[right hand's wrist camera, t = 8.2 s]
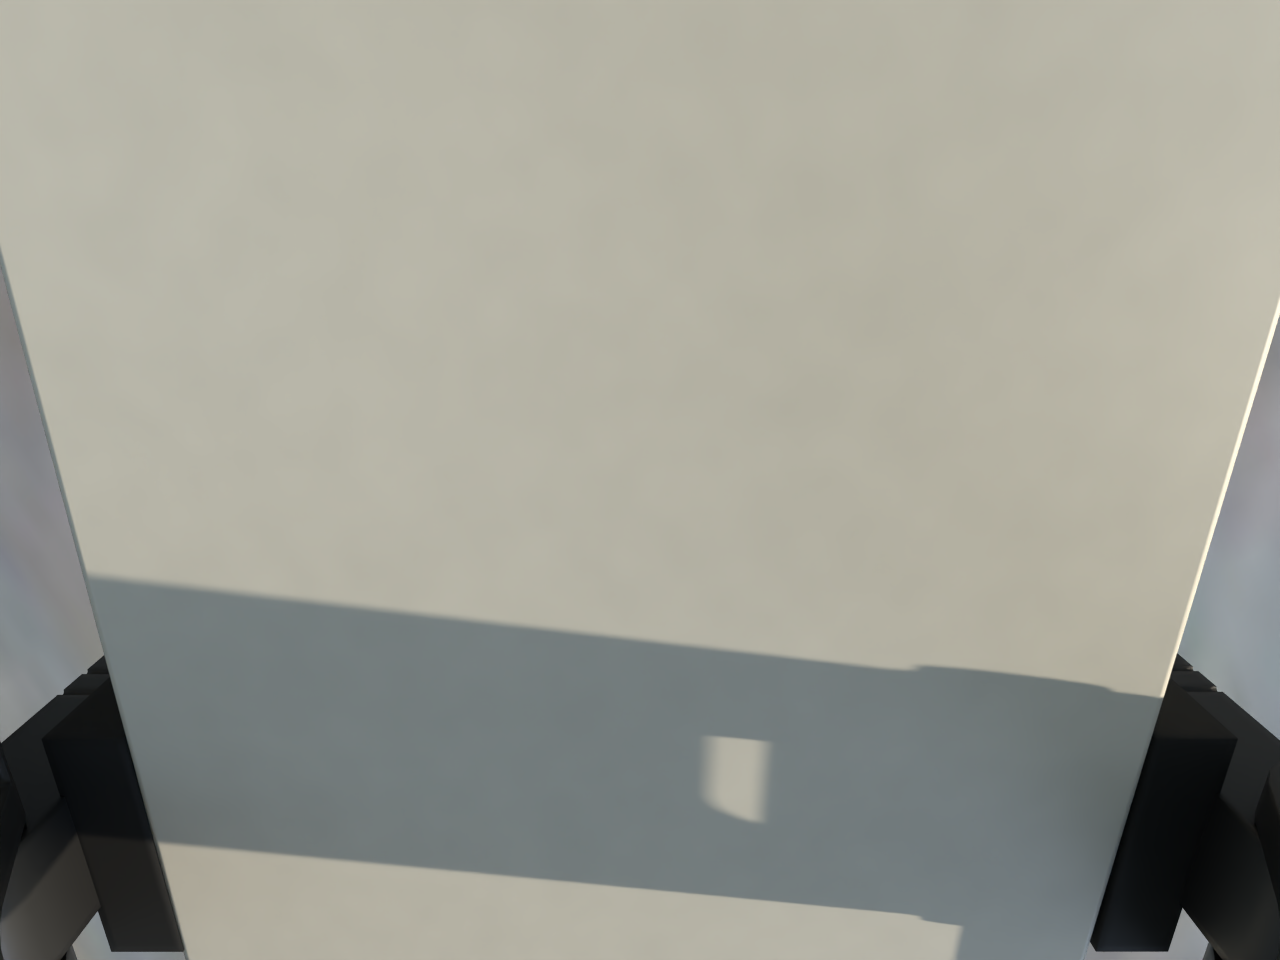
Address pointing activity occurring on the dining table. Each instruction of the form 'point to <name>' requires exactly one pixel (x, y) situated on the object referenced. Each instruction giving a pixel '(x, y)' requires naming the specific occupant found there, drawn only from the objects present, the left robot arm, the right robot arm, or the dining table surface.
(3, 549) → the dining table surface
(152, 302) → the off-white long beam
